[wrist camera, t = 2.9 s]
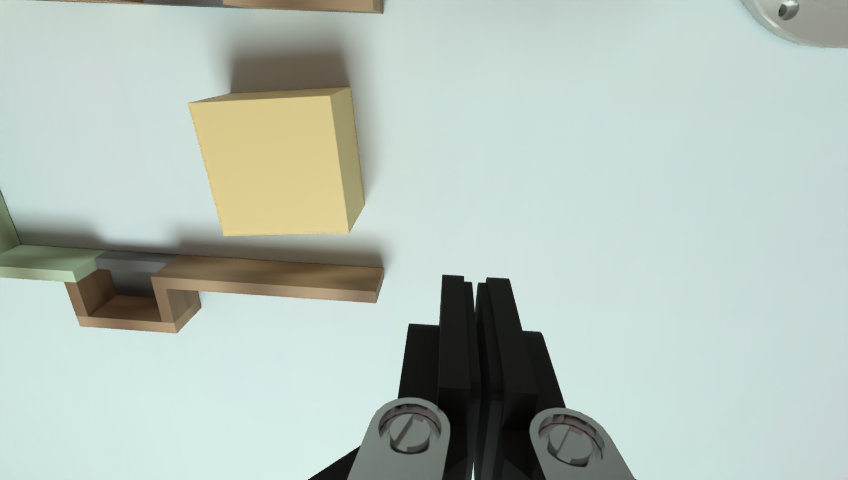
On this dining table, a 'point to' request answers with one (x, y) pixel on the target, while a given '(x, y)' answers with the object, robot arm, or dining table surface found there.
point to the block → (281, 160)
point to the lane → (180, 274)
